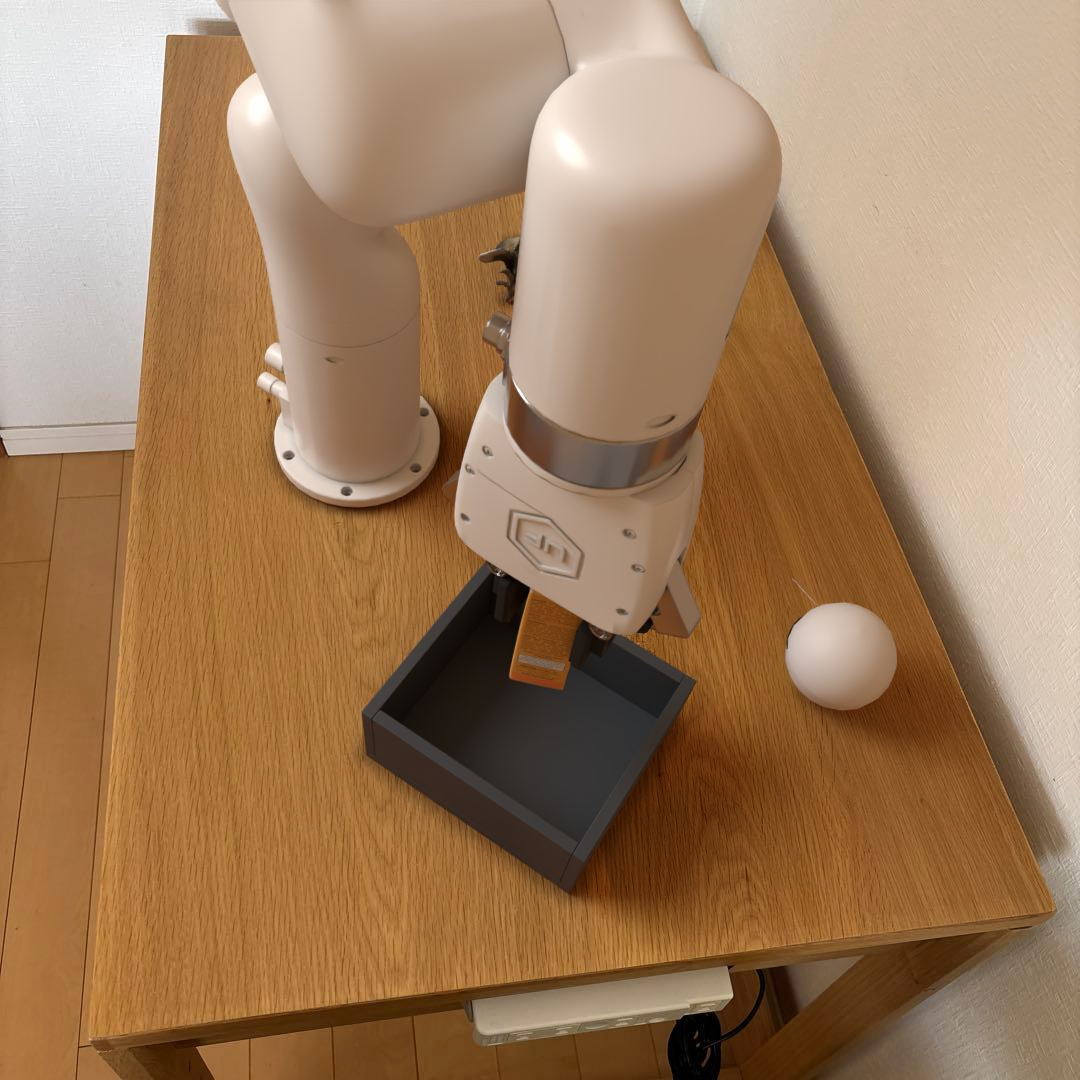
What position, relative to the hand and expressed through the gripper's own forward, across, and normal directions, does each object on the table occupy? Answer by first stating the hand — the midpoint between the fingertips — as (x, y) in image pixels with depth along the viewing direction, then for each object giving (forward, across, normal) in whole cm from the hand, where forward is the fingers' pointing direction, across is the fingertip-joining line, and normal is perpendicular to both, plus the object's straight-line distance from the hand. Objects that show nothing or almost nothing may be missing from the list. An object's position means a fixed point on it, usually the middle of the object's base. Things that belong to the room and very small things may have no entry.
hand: (551, 622), depth 54 cm
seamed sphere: (+17, +14, +17) cm, 28 cm away
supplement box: (+5, 0, 0) cm, 5 cm away
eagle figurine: (+16, -24, +37) cm, 47 cm away
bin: (+16, 0, 0) cm, 16 cm away
